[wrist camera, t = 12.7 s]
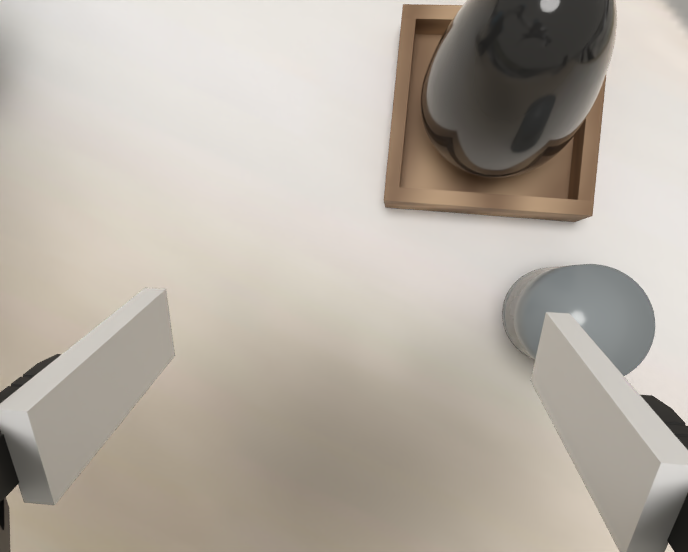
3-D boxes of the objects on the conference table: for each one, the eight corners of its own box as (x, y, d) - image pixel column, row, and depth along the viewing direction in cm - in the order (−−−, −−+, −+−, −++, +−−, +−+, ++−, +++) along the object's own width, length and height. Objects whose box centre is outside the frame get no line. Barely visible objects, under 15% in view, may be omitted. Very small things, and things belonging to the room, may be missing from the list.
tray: (385, 207, 34) (383, 200, 32) (402, 28, 34) (403, 4, 32) (574, 221, 33) (592, 215, 30) (593, 32, 33) (612, 7, 30)
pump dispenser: (578, 63, 32) (737, -134, 17) (540, 203, 32) (664, 134, 17) (438, 37, 33) (469, -167, 18) (403, 172, 33) (404, 82, 18)
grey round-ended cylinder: (500, 358, 33) (525, 379, 26) (504, 265, 33) (529, 262, 26) (600, 365, 32) (652, 388, 25) (603, 269, 32) (657, 266, 25)
